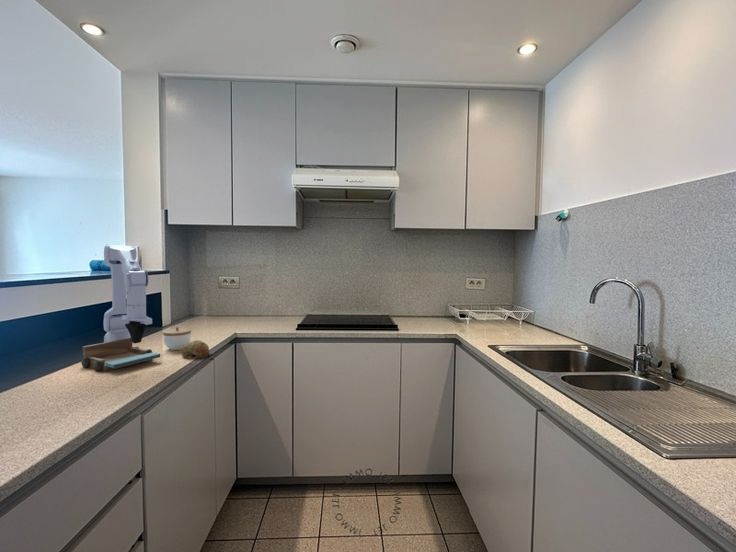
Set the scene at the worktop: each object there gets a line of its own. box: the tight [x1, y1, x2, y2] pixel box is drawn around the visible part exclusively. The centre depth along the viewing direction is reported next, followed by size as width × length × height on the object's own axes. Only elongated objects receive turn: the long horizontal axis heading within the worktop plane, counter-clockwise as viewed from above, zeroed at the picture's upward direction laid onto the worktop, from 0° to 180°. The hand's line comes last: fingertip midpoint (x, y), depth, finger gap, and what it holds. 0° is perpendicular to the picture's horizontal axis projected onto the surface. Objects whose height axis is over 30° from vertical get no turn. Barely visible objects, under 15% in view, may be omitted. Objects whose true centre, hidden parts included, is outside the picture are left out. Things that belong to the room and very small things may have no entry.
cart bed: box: [80, 337, 154, 373], centre depth 126 cm, size 14×18×7 cm
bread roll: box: [181, 339, 210, 360], centre depth 137 cm, size 10×10×8 cm
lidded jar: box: [162, 326, 192, 351], centre depth 148 cm, size 11×11×9 cm
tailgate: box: [106, 352, 161, 369], centre depth 122 cm, size 1×16×5 cm
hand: (136, 342), depth 121 cm, fingers closed
